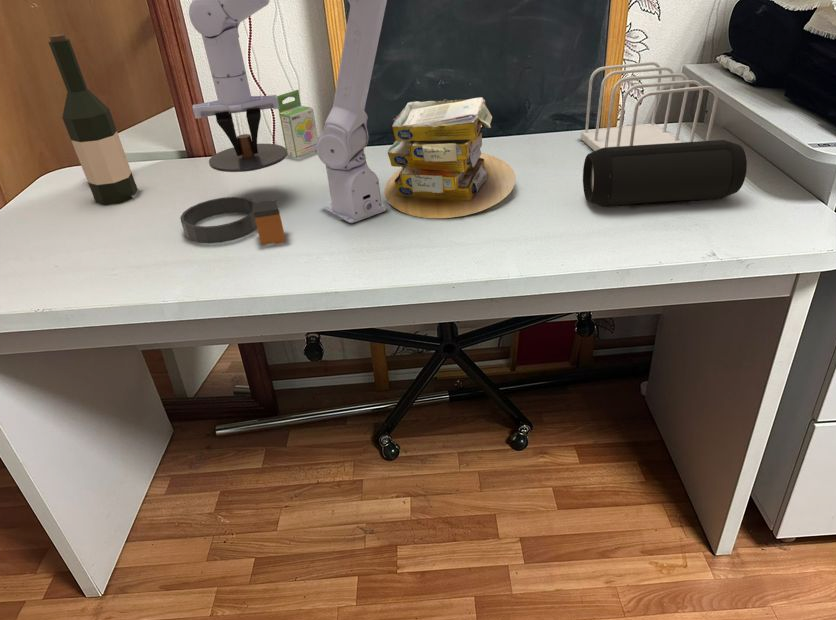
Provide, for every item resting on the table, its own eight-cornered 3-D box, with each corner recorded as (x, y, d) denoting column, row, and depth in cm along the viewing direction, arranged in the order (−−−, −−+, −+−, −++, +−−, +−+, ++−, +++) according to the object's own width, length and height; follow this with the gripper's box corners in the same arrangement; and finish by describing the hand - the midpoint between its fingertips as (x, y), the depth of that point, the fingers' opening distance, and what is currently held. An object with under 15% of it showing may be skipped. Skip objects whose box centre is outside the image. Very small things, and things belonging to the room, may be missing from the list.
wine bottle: (123, 205, 123) (61, 39, 106) (86, 204, 125) (19, 40, 107) (146, 189, 130) (92, 30, 112) (111, 188, 131) (52, 31, 114)
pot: (274, 228, 110) (270, 210, 108) (204, 253, 104) (198, 234, 102) (241, 208, 119) (237, 191, 117) (174, 230, 112) (169, 212, 110)
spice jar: (284, 234, 108) (276, 199, 104) (285, 244, 105) (278, 208, 101) (261, 238, 107) (252, 203, 104) (261, 248, 104) (253, 212, 100)
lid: (304, 155, 117) (299, 129, 114) (247, 180, 107) (241, 153, 104) (251, 145, 123) (245, 121, 120) (194, 168, 114) (186, 142, 111)
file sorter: (579, 139, 140) (586, 65, 131) (653, 132, 142) (664, 58, 133) (624, 178, 120) (635, 94, 111) (709, 169, 122) (726, 84, 113)
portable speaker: (717, 186, 115) (729, 131, 109) (740, 207, 106) (755, 149, 101) (579, 195, 115) (584, 140, 109) (592, 217, 107) (598, 159, 101)
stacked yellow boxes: (479, 227, 106) (478, 128, 96) (360, 206, 116) (348, 114, 107) (533, 178, 123) (537, 89, 113) (425, 163, 133) (420, 80, 124)
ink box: (298, 160, 139) (287, 98, 132) (286, 158, 142) (274, 96, 134) (321, 151, 144) (310, 90, 136) (309, 149, 146) (298, 88, 138)
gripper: (183, 84, 102) (205, 165, 110) (272, 74, 104) (288, 154, 112) (186, 75, 107) (207, 153, 115) (271, 66, 110) (286, 142, 118)
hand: (247, 153), depth 114 cm, fingers closed on lid, 2 cm apart
